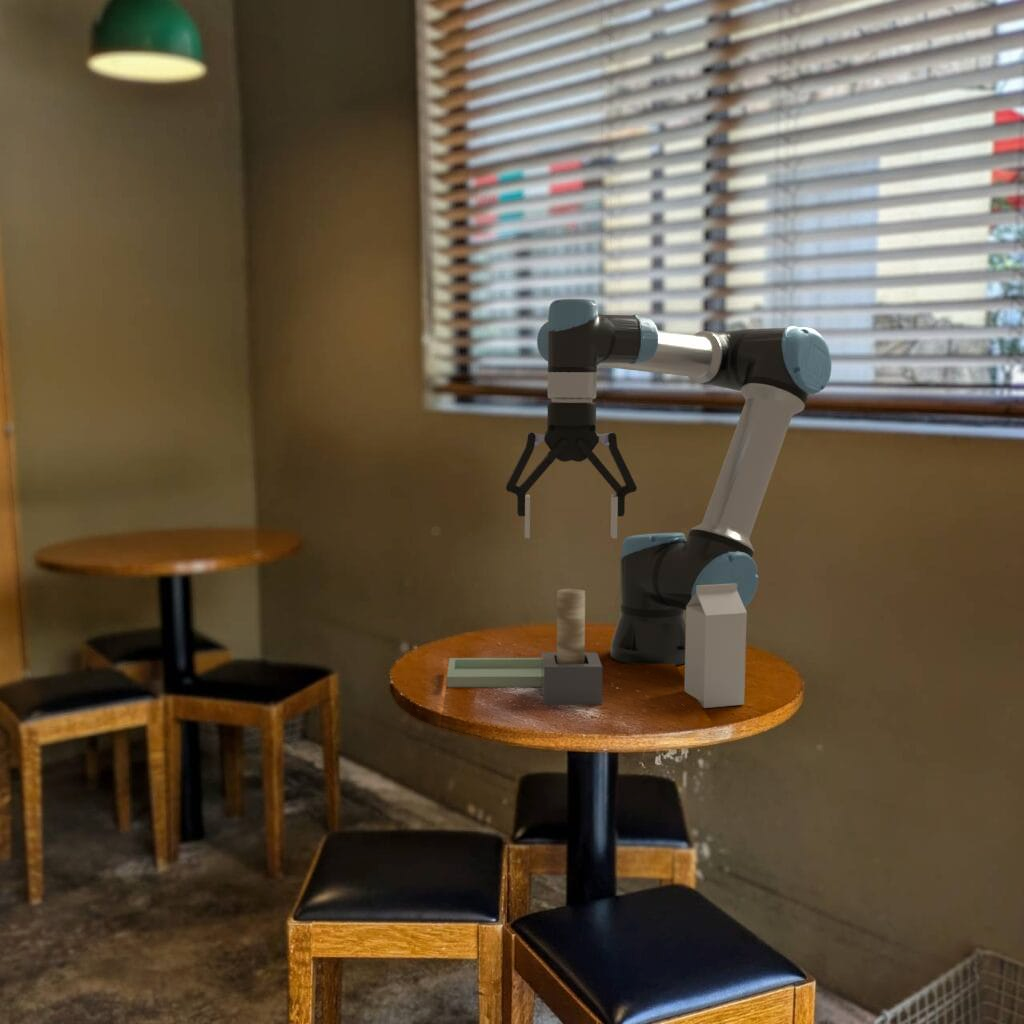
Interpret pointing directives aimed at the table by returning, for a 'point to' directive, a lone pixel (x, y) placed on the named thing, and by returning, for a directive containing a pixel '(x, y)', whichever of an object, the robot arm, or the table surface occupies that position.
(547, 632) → the table surface
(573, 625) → the dowel
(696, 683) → the milk carton
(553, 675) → the square block with hole
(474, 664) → the tray
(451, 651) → the table surface
